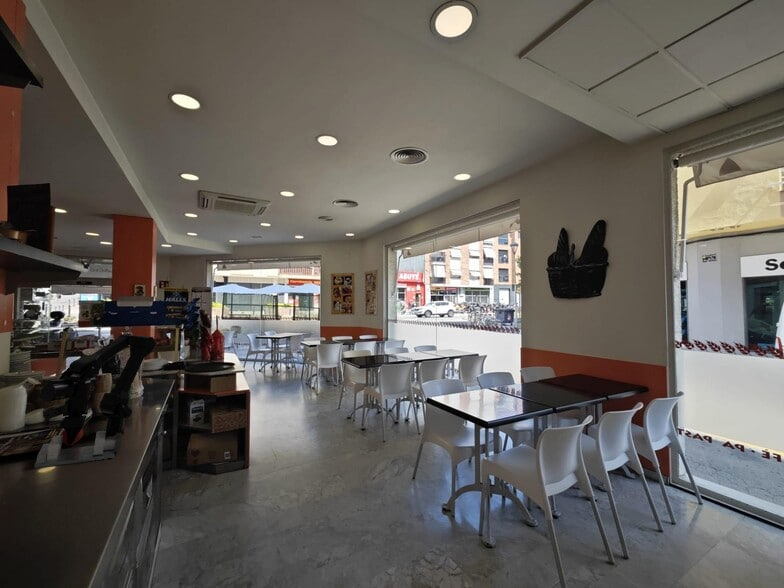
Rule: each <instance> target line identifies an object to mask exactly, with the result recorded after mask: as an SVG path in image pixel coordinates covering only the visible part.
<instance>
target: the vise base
mask: <svg viewBox="0 0 784 588" xmlns="http://www.w3.org/2000/svg"><path fill="white" fill-rule="evenodd" d="M62 440H63V435H61V434H59V435H53V436H52V438H51V440H50V442H49V443H43V445H42V446H41V448H40V451H39V452H38V454H37V457H36V460H35V461H36V462H35V463H34V466H33V467H34V469H37V468H38V469H39V468H46V467H54V466H62V465H70V464H79V463H86V462H94V461H95V460H96V461H103V460H102V459H104V460H109V459H108V458H112V459H115V457H116V452H114V449H110V450H103V454H99V455H93V452H94V446H95V445H88V446H80V447H79V446H78V447H68V448H62V445H63V442H62Z"/></svg>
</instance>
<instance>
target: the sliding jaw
mask: <svg viewBox="0 0 784 588" xmlns="http://www.w3.org/2000/svg"><path fill="white" fill-rule="evenodd" d="M105 433H106V431H104V430H98V431H96V435H95V441H94V445H93V446H94V452H93V455H99V454H103V450H110V449H114V452H115V453H116V452H120V451H121V448H122V447H121V446H122V440H123V434H122V432H120V433H116V434H115V436H114V437H115V438H109V439H106V435H105Z"/></svg>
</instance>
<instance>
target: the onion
mask: <svg viewBox="0 0 784 588" xmlns="http://www.w3.org/2000/svg"><path fill="white" fill-rule="evenodd" d="M60 435H63V440H62V444H65V445H66V446H73V445H74V444H75V443H77V442H78V441H79V440H81V438H82V437H83V435H84V430H83V428H82V429H81V430H80V432H79V434H78V435H77V437H76V438H75V440H74V441H73V443H72V444H68V442H67V434H66V430H65V429H63V431H62V432H61V433H60Z"/></svg>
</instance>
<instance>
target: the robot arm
mask: <svg viewBox="0 0 784 588" xmlns="http://www.w3.org/2000/svg"><path fill="white" fill-rule="evenodd" d="M156 345H157V341H156V339H155V338H154V337H153V336H147V335H133V334H129V333H128V334H127V333H122V334H119V336H118V337H117V338H115V339H113V340H112V341H111V342H109V343H107V344H106V345H104V346H103V347H101V348H100V349H98V350H96V351H95V352H94V353H91V354H88V355H85V356H82V357H78V358H77V359H75V360H73V361H72V362H71V363H70V364H69V366H68V368H66V370H64V372H63V373H62V374H61V375H60V376H59V377H58V379H50V380H48V381H47V383H46V384H45V385H44V386H43V387H42V389H41V390H40V397H41V400H43V401H44V402H46V403H47V402H55V401H59V400H60V401H61V400H65V399H66V400H65V402H63V403H59V404H55V405H52V406H49V407H46V408H44V409H43V410H42V417H43V418H44V421H48V420H51V419H53V418H55V417H59V416H61V415H62V417H63V418H61V420H60V422H59V429H63V430H64V429H65V430H66V434H67V442H68V444H72V443H73V441H74V440H75V438H76V437H77V435H78V434H79V432H80V430H81V429H82V430H83V427H85V424H86V419H87V415H88V414H89V406H88V402H89V400H90V392H91V391H90V390H91V388H92V387H91V386H92V383H97V382H98V379H97V378H96V377H94V376H95V375H96V374H97V373H98V372H99V371H100V370H101V369H102V367H103V364H105V363H106V362H108V361H109V360H110V359H112V358H113V357H115V356H116V355H117V354H119V353H120V352H122V351H123V350H125V349H126V348H128V347H129V355H130V356H128V359H127V361H126V363H125V364H124V367H123V369H122V372H121V373H120V374H121V375H120V377H119V379H118V381H117V383H116V385H115V388H114V389H113V390H112V391H111V392H105V393H103V395H102V397H101V400H100V401H99V408H98V409H99V410H100V412H101V413H100V414H101V416H102V417H106V420H105V427H104V429H103V431H106V433H105V436H109V435H110V436H111V435H112V436H113V435H116V433H120V432H122V435H123V434H125V427H124V426H125V419H128V418H129V417H131V416H132V413H133V410H132V409H131V408H130V406H129V407H128V406H127V404H128V401H129V397H128V391H129V389H130V387H131V385H132V383H133V384H134V380H135V378H136V376H137V374H138V372H139V369H140V368H141V365H142V364H143V361H144V359H145V358H146V357H148V356H149V355H150V354H151V353H152V351H153V350H154V348H155V346H156Z"/></svg>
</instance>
